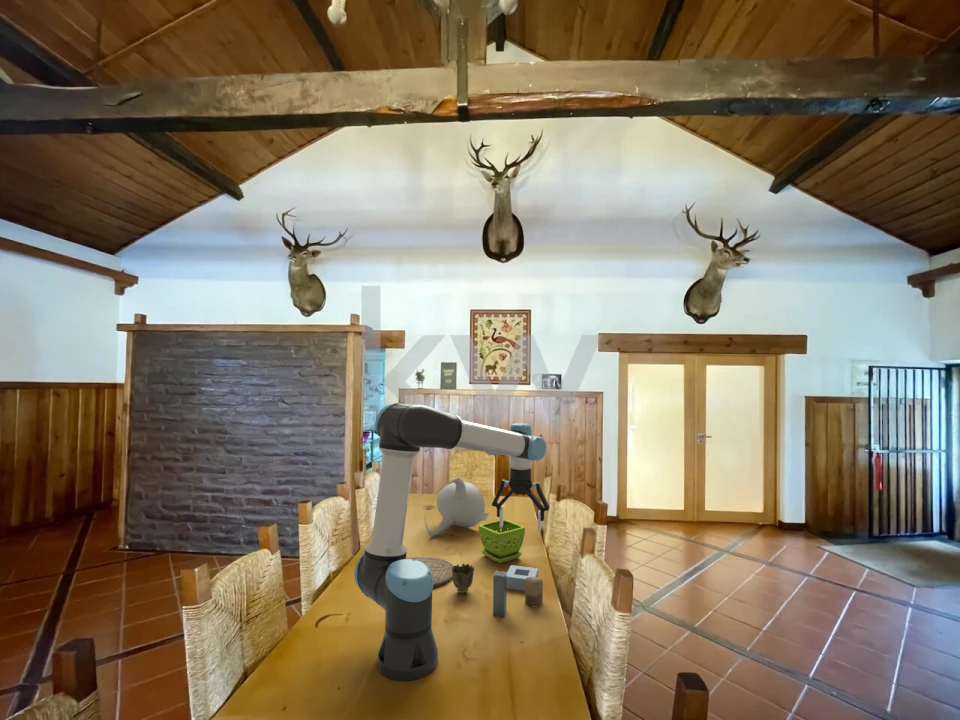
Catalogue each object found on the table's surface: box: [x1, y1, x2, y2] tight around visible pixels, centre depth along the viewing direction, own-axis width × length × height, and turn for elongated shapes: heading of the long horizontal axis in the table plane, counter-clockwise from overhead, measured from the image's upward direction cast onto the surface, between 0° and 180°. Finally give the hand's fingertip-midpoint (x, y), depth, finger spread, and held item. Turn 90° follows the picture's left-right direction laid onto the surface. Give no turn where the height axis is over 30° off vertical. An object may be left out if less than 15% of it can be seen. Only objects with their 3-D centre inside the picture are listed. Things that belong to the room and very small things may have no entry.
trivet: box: [406, 556, 454, 589], centre depth 168 cm, size 25×25×2 cm
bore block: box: [506, 564, 539, 592], centre depth 161 cm, size 10×10×4 cm
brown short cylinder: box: [524, 576, 544, 607], centre depth 148 cm, size 6×6×7 cm
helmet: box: [423, 477, 489, 538], centre depth 215 cm, size 24×29×35 cm
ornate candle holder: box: [452, 563, 475, 595], centre depth 155 cm, size 8×7×8 cm
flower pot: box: [478, 518, 526, 565], centre depth 185 cm, size 14×14×13 cm
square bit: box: [492, 570, 508, 618], centre depth 141 cm, size 3×3×12 cm
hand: (520, 528), depth 162 cm, fingers open, 13 cm apart
